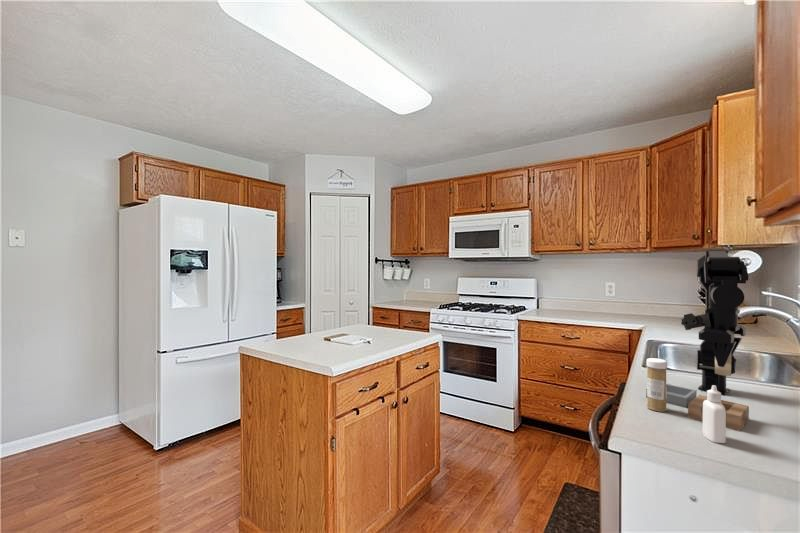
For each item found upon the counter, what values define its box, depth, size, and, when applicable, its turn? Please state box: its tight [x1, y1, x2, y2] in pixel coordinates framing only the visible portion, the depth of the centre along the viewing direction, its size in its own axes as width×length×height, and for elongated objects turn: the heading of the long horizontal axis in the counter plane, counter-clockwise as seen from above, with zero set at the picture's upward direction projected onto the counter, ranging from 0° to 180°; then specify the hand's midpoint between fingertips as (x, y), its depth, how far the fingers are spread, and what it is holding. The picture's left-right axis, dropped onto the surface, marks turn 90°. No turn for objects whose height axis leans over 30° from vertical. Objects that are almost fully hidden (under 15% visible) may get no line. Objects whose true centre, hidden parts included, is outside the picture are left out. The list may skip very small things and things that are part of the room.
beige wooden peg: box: [715, 354, 732, 377], centre depth 96 cm, size 3×3×7 cm
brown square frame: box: [687, 394, 750, 432], centre depth 95 cm, size 10×10×4 cm
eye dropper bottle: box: [702, 385, 727, 444], centre depth 85 cm, size 4×6×12 cm
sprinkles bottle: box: [646, 357, 668, 413], centre depth 101 cm, size 5×5×14 cm
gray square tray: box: [645, 383, 698, 408], centre depth 109 cm, size 10×10×3 cm
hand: (722, 365), depth 96 cm, fingers closed on beige wooden peg, 3 cm apart
